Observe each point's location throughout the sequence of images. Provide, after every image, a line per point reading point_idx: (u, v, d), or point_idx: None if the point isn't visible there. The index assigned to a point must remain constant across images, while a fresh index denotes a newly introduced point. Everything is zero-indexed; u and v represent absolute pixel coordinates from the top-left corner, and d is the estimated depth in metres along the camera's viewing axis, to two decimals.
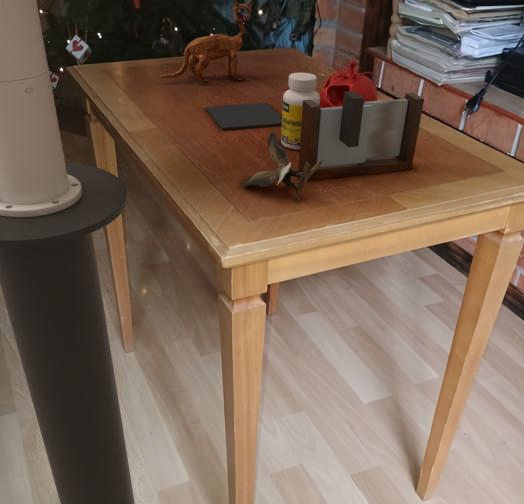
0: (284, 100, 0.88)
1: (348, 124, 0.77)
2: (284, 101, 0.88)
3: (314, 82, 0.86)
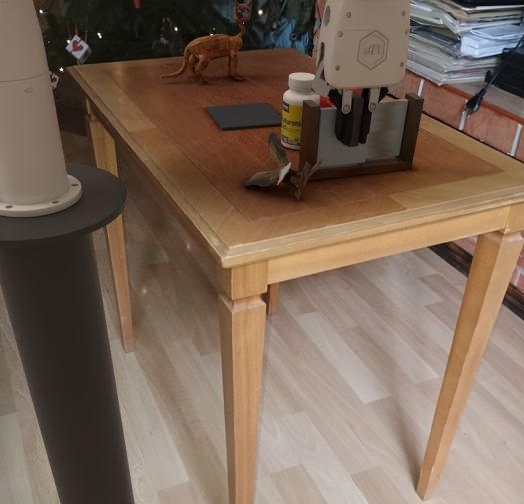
0: (284, 100, 0.88)
1: None
2: (284, 101, 0.88)
3: None
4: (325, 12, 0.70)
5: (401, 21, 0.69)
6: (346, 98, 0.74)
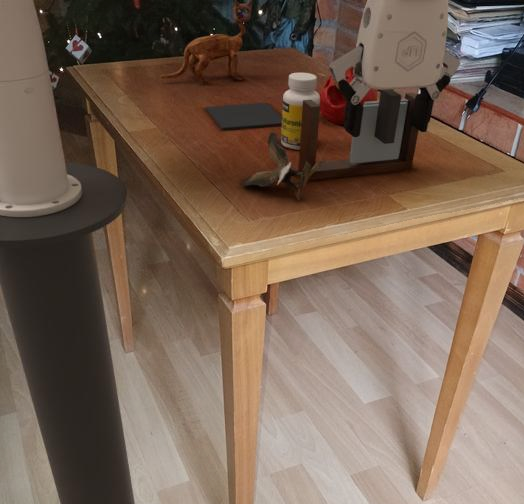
0: (284, 100, 0.88)
1: (385, 121, 0.79)
2: (284, 101, 0.88)
3: (314, 82, 0.86)
4: (365, 14, 0.71)
5: (439, 23, 0.71)
6: (362, 90, 0.74)
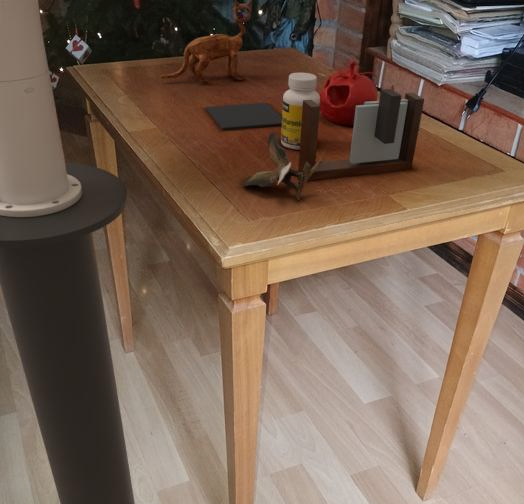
0: (284, 100, 0.88)
1: (385, 121, 0.79)
2: (284, 101, 0.88)
3: (314, 82, 0.86)
4: None
5: None
6: None
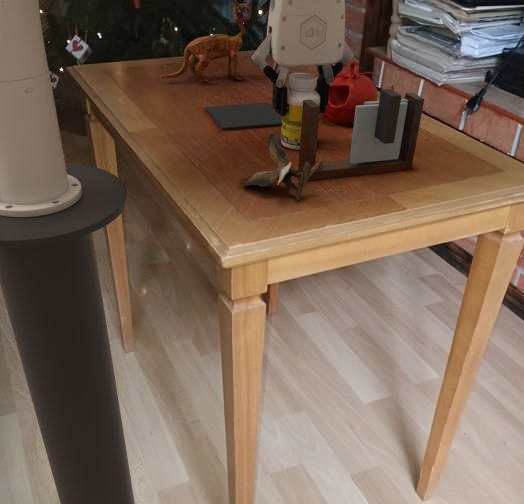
0: None
1: (385, 121, 0.79)
2: None
3: (314, 82, 0.86)
4: (272, 0, 0.81)
5: (337, 7, 0.81)
6: (282, 73, 0.85)
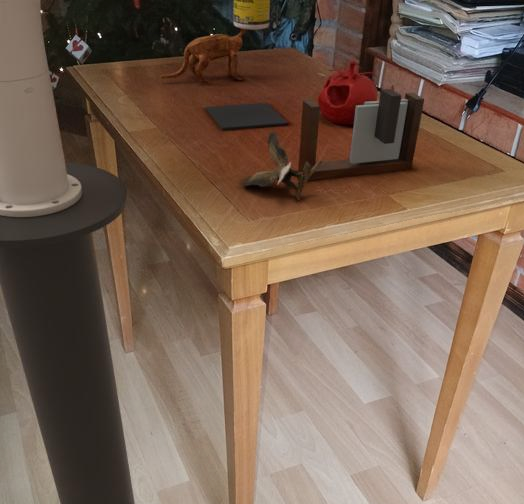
0: None
1: (385, 121, 0.79)
2: None
3: None
4: None
5: None
6: None
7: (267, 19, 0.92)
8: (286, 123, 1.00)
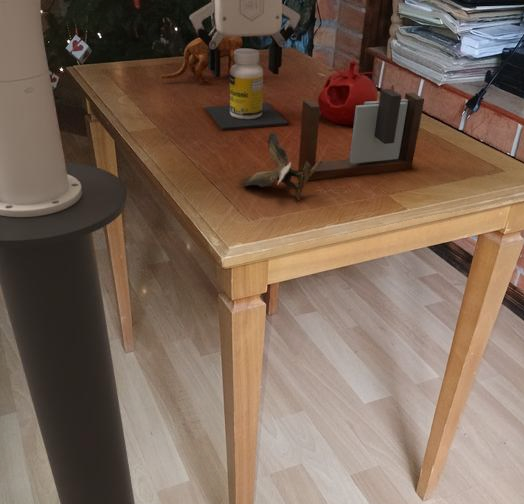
0: (230, 73, 0.97)
1: (385, 121, 0.79)
2: (230, 74, 0.97)
3: (256, 56, 0.95)
4: None
5: None
6: (217, 37, 0.93)
7: (260, 110, 1.01)
8: (286, 123, 1.00)
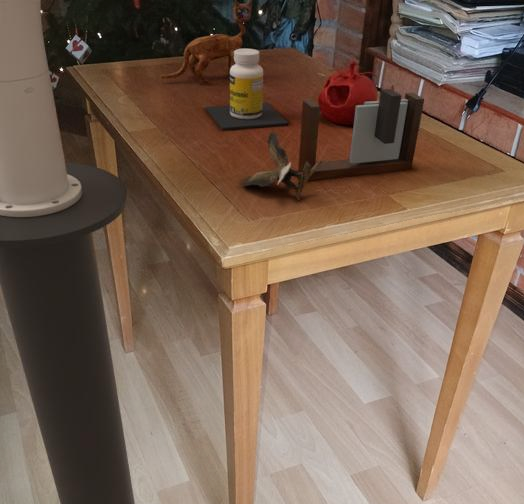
0: (230, 73, 0.97)
1: (385, 121, 0.79)
2: (230, 74, 0.97)
3: (256, 57, 0.95)
4: None
5: None
6: None
7: (260, 110, 1.01)
8: (286, 123, 1.00)
